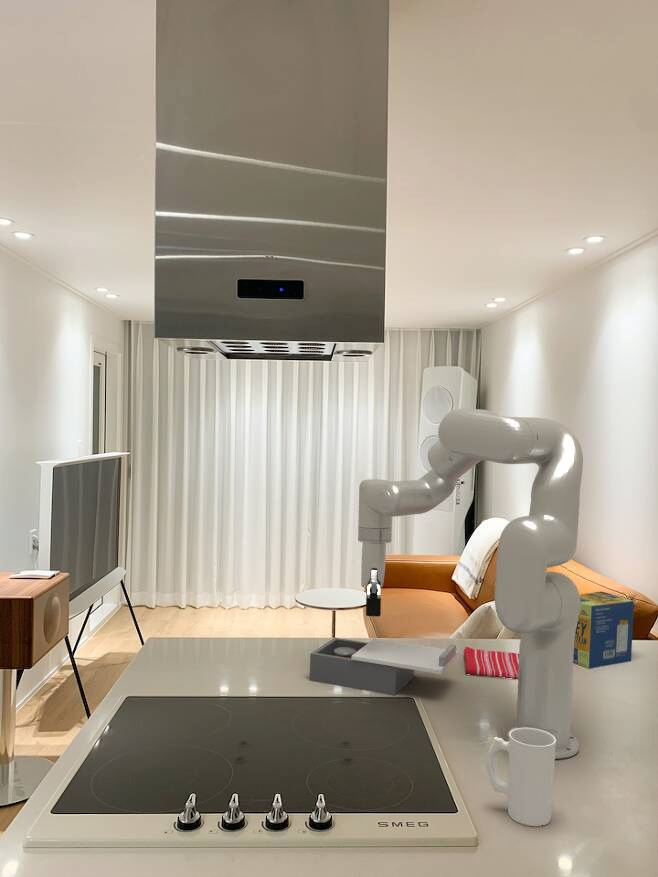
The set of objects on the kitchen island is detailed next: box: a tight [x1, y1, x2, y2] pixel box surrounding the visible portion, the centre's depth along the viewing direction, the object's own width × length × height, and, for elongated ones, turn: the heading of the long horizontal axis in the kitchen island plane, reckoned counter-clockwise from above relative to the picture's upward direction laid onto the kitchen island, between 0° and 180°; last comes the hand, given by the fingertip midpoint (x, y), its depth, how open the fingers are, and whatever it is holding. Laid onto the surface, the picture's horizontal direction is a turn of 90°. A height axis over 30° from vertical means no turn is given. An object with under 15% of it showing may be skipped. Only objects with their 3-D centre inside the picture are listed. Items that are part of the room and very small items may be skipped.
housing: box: [309, 637, 415, 696], centre depth 172 cm, size 14×20×6 cm
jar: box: [334, 647, 356, 659], centre depth 174 cm, size 5×5×5 cm
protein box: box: [573, 591, 635, 669], centre depth 191 cm, size 10×15×16 cm
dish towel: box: [463, 646, 519, 680], centre depth 182 cm, size 17×24×3 cm
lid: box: [351, 638, 459, 675], centre depth 168 cm, size 15×20×3 cm
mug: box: [485, 728, 556, 827], centre depth 114 cm, size 10×7×12 cm, turn 68°
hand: (373, 610), depth 171 cm, fingers open, 9 cm apart
